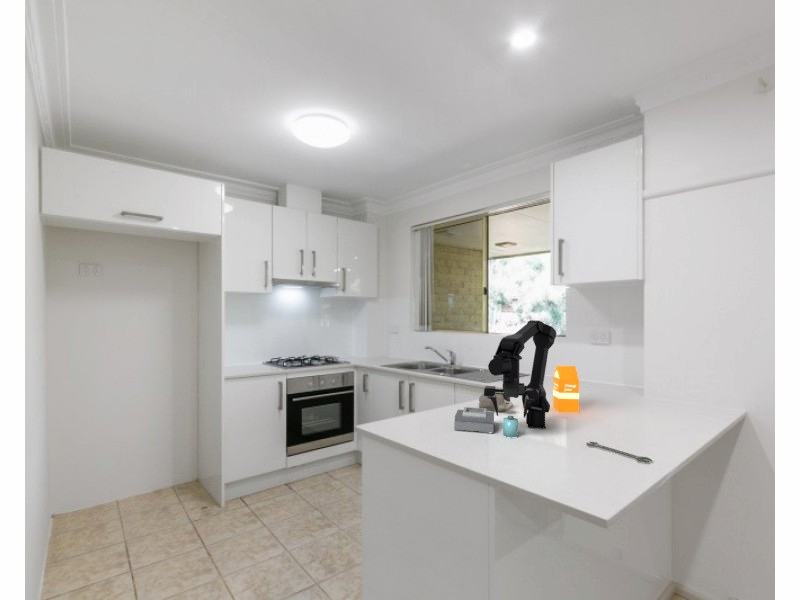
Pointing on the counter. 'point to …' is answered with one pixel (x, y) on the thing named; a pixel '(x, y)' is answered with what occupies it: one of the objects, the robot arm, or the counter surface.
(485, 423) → the square aluminium tube flange
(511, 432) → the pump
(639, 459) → the wrench
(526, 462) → the counter surface
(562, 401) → the orange juice
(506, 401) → the pipe
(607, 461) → the counter surface
